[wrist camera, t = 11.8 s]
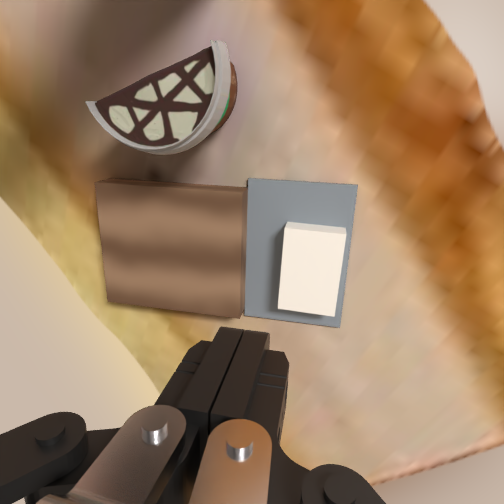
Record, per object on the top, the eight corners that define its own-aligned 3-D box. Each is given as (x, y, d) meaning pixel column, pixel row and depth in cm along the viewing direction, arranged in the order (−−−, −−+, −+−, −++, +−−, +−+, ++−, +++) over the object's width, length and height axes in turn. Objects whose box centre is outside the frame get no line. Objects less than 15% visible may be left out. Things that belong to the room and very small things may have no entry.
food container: (163, 165, 40) (112, 178, 31) (139, 108, 39) (79, 104, 30) (269, 123, 37) (248, 123, 28) (247, 58, 35) (217, 36, 26)
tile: (346, 234, 36) (345, 227, 38) (284, 227, 37) (287, 221, 39) (334, 316, 39) (334, 305, 41) (277, 308, 40) (280, 298, 42)
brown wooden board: (110, 178, 42) (94, 182, 39) (248, 187, 39) (242, 192, 37) (120, 290, 47) (107, 301, 44) (245, 306, 44) (239, 318, 41)
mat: (249, 178, 39) (248, 178, 39) (357, 184, 37) (357, 185, 37) (245, 313, 44) (244, 315, 44) (339, 325, 42) (339, 327, 42)
